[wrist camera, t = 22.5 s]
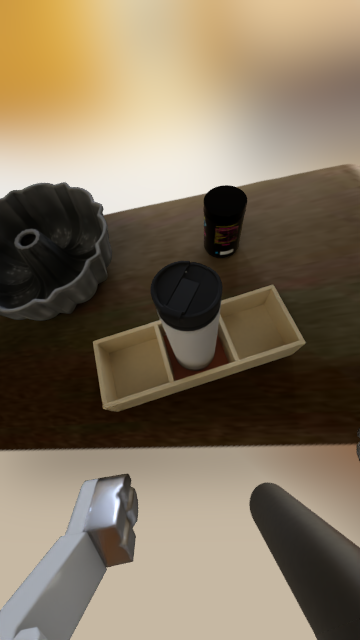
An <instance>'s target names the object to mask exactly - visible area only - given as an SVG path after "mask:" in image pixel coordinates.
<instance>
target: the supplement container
mask: <svg viewBox="0 0 360 640" xmlns="http://www.w3.org/2000/svg"><path fill="white" fill-rule="evenodd" d="M246 205H247V197H246V195H245V193H244V192H243V191H242V190H241V189H239V188H237V187H233V186H219V187H216V188H213V189H212V190H210V191H209V192H208V193H207V194H206V195H205V197H204V247H205V249H206V251H207V252H208V253H209V254H210V255H212V256H214V257H217V258H225V257H228V256H231V255H232V254H234V253H235V252H236V250H237V249H238V246H239V241H240V236H241V230H242V225H243V220H244V214H245V211H246Z"/></svg>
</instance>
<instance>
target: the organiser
mask: <svg viewBox="0 0 360 640" xmlns="http://www.w3.org/2000/svg"><path fill="white" fill-rule="evenodd" d="M305 343H306V342H305V341H304V339H303V337H302V335H301V333H300V332H299V330H298V328H297V326H296V325H295V323H294V321H293V319H292V317H291V316H290V314H289V312H288V310H287V308H286V307H285V305H284V303H283V301H282V299H281V298H280V296H279V294H278V292H277V290H276V289H275V287H274V285H270V286H267V287H264V288H261V289H258V290H254V291H251V292H248V293H245V294H242V295H239V296H235V297H232V298H229V299H226V300H223V301H221V309H220V317H219V324H218V332H217V339H216V347H215V355H214V358H213V360H212V362H211V363H210V365H209V366H207V367H206V368H204V369H202V370H199V371H190V370H187V369H185V368H183V367H182V366H181V365H180V364H179V363H178V361H177V359H176V357H175V354H174V352H173V350H172V347H171V345H170V342H169V340H168V337H167V335H166V332H165V330H164V328H163V325H162V323H161V320H159V321H156V322H153V323H150V324H147V325H143V326H140V327H137V328H134V329H131V330H128V331H124V332H121V333H118V334H115V335H112V336H109V337H105V338H102V339H99V340H96V341H93V346H94V352H95V359H96V365H97V372H98V378H99V384H100V391H101V397H102V404H103V409H105V410H111V411H116V412H118V411H121V410H124V409H128V408H131V407H134V406H137V405H140V404H143V403H146V402H149V401H152V400H155V399H158V398H161V397H164V396H167V395H170V394H173V393H176V392H179V391H182V390H185V389H189V388H192V387H195V386H198V385H201V384H204V383H207V382H210V381H213V380H216V379H219V378H222V377H225V376H228V375H231V374H234V373H237V372H240V371H243V370H246V369H250V368H253V367H256V366H259V365H262V364H265V363H268V362H271V361H274V360H277V359H280V358H283V357H286V356H289V355H292V354H293V353H295V352H296V351H297V350H298V349H299V348H300V347H302V346H303V345H304V344H305Z"/></svg>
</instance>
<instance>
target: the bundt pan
mask: <svg viewBox="0 0 360 640" xmlns="http://www.w3.org/2000/svg"><path fill="white" fill-rule="evenodd" d="M102 212H103V206H102V204H100V203H97V202H94V199H93V197H92V195H91V194H90V193H89V192H88V191H87V190H85V189H83V188H78V187H70V186H69V185H68V184H67V183H60V184H56V185H53V184H50V183H38V184H34V185H31V186H28V187H26V188H24V189H23V190H13V191H11V192H9V193H8V194H7V195H6V196H5V197H4V198H1V199H0V315H2V316H5V317H8V318H12V319H15V320H23V319H27V318H28V319H32V320H38V321H43V320H48V319H51V318H53V317H55V316H57V315H58V314H59V313H67V314H70V313H72V312H73V310H74V309H75V307H76V305H77V304H79V303H83V302H86V301H88V300H89V299H91V298H92V297H93V295H94V294H95V292H96V290H97V286H98V284H99V283H101V282H104V281H105V280H106V279H107V271H106V268H107V267H108V266H109V264H110V262H111V258H112V251H111V246H110V243H109V234H108V231H107V224H106V221H105V219H104V217H103V213H102Z"/></svg>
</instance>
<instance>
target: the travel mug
mask: <svg viewBox="0 0 360 640" xmlns="http://www.w3.org/2000/svg"><path fill="white" fill-rule="evenodd" d="M151 295H152V299H153V301H154V304H155V306H156V309H157V313H158V315H159V318H160V320H161V323H162V325H163V328H164V330H165V332H166V335H167V337H168V340H169V342H170V345H171V347H172V350H173V352H174V354H175V357H176V359H177V361H178V363H179V364H180V365H181V366H182V367H183V368H185V369H187V370H190V371H199V370H202V369H204V368H206V367H207V366H209V365H210V363H211V362H212V360H213V358H214V355H215V347H216V339H217V332H218V324H219V317H220V309H221V297H222V282H221V280H220V277H219V276H218V274H217V273H216V272H215V271H214V270H212V269H211V268H209V267H207V266H205V265H202V264H200V263H195V262H191V263H190V261H178V262H174V263H171V264H169V265H167V266H165V267H164V268H162V269H161V270H160V271H159V272H158V273H157V274H156V276H155V277H154V279H153V281H152V284H151Z"/></svg>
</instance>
